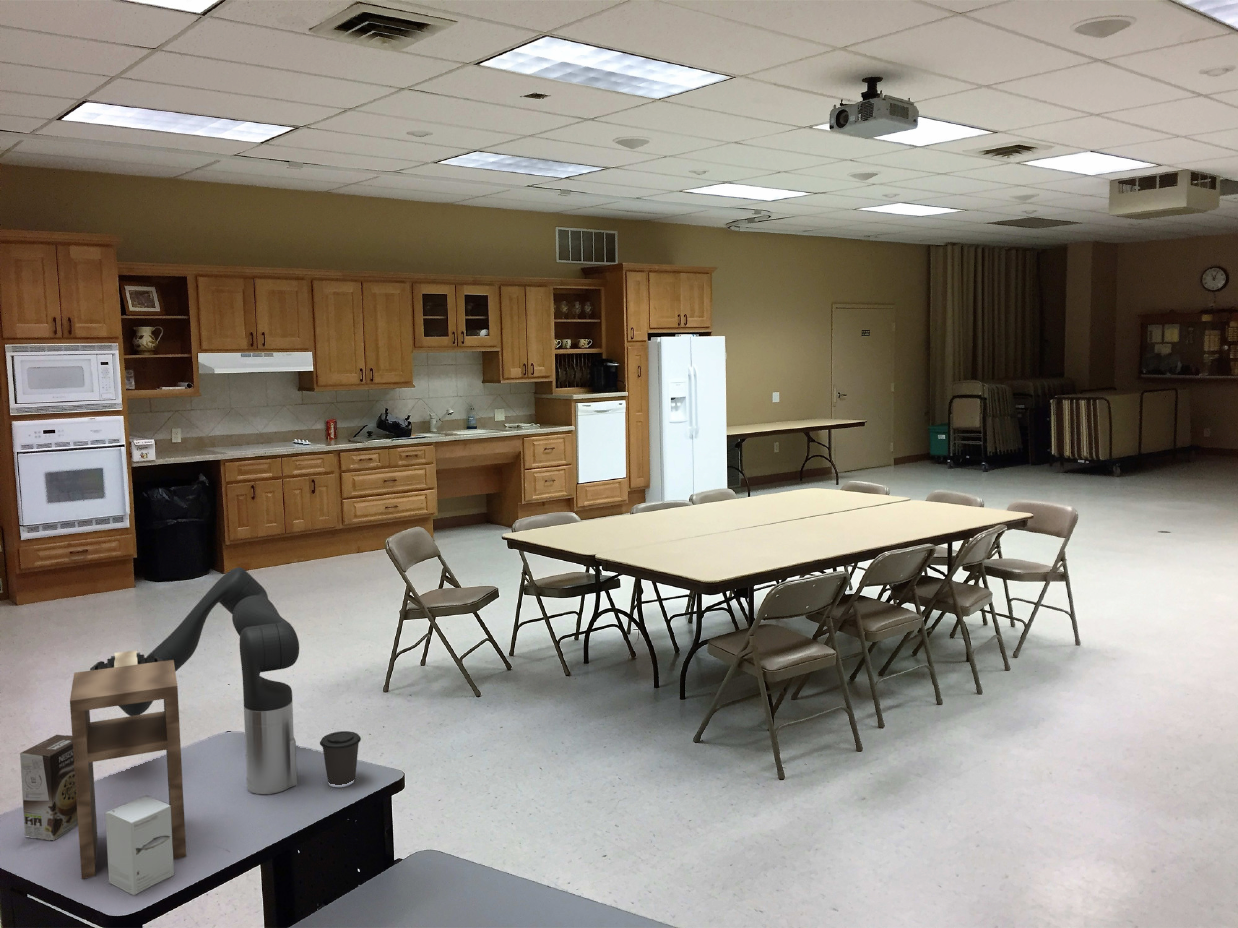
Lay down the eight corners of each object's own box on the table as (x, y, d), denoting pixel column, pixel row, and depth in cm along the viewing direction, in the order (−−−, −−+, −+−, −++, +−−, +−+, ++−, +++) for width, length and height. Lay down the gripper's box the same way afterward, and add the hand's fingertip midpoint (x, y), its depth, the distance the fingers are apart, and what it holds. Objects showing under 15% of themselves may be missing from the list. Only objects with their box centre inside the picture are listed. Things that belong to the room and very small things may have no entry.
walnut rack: (181, 818, 182) (173, 659, 178) (186, 856, 168) (177, 685, 165) (84, 837, 174) (74, 672, 171) (81, 878, 161) (69, 700, 157)
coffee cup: (326, 794, 192) (324, 746, 191) (317, 778, 199) (315, 731, 198) (366, 785, 196) (365, 738, 195) (356, 769, 203) (355, 724, 202)
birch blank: (137, 664, 196) (136, 650, 196) (139, 696, 178) (138, 681, 178) (115, 667, 194) (114, 652, 194) (114, 700, 177) (113, 684, 176)
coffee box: (54, 841, 173) (48, 755, 171) (23, 837, 174) (17, 752, 172) (91, 817, 182) (86, 735, 180) (62, 813, 183) (56, 732, 181)
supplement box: (133, 896, 156) (129, 823, 155) (107, 882, 160) (103, 810, 159) (175, 875, 162) (172, 804, 161) (149, 862, 166) (145, 793, 165)
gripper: (166, 689, 207) (166, 672, 192) (90, 700, 200) (85, 683, 186) (163, 655, 209) (164, 635, 195) (89, 664, 203) (84, 645, 188)
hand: (125, 659), depth 190 cm, fingers closed on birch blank, 4 cm apart
